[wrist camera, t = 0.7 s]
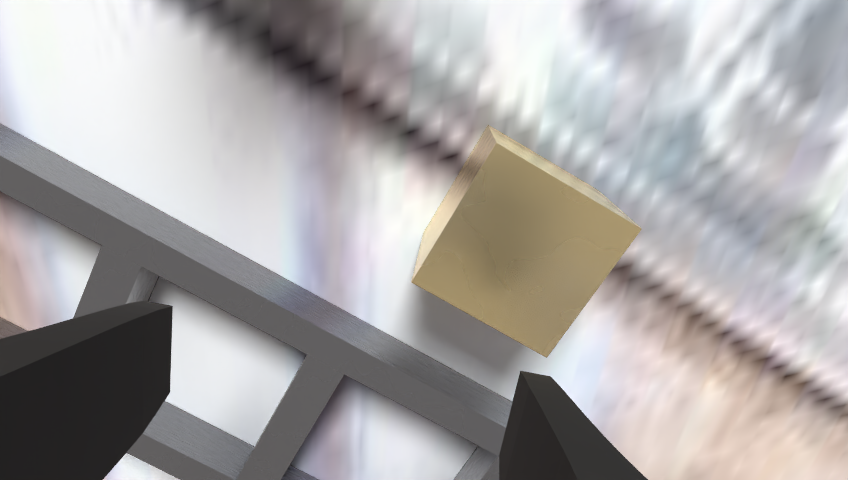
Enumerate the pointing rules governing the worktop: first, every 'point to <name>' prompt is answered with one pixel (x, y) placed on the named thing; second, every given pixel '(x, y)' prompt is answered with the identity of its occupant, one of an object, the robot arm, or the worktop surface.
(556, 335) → the tan rectangular block
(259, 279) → the grey compartment tray
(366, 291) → the worktop surface
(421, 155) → the worktop surface
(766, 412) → the worktop surface
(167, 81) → the worktop surface
